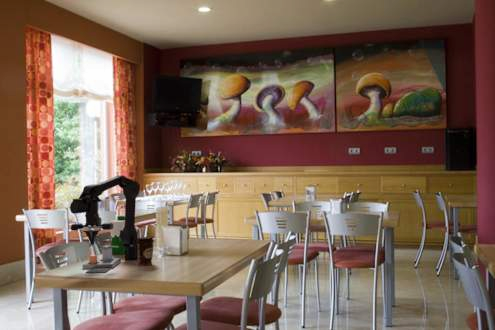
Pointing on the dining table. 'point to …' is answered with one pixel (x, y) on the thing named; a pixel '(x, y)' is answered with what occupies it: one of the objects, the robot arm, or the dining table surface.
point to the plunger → (92, 259)
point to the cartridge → (107, 253)
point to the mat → (98, 270)
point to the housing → (102, 263)
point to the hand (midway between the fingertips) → (92, 244)
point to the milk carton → (117, 235)
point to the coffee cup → (145, 250)
